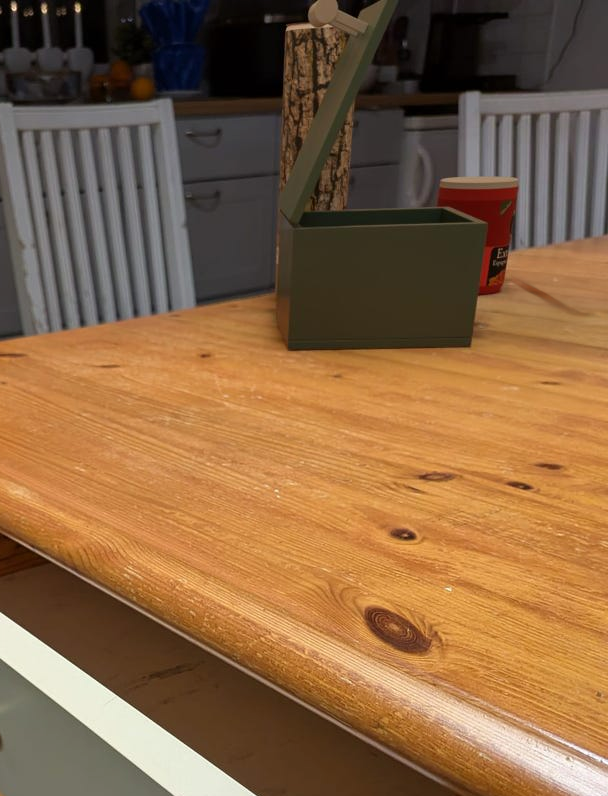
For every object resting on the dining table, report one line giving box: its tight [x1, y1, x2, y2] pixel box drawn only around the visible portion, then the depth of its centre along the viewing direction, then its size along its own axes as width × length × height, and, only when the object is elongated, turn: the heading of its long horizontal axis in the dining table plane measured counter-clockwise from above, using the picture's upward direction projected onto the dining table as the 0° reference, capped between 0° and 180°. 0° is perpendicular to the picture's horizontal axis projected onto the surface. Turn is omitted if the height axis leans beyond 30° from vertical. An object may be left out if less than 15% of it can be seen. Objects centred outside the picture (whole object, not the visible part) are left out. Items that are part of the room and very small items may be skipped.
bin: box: [275, 206, 488, 351], centre depth 86 cm, size 16×14×10 cm
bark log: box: [274, 21, 356, 303], centre depth 95 cm, size 7×7×25 cm
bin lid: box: [276, 0, 399, 224], centre depth 80 cm, size 16×14×5 cm
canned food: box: [436, 175, 520, 296], centre depth 103 cm, size 8×8×11 cm
